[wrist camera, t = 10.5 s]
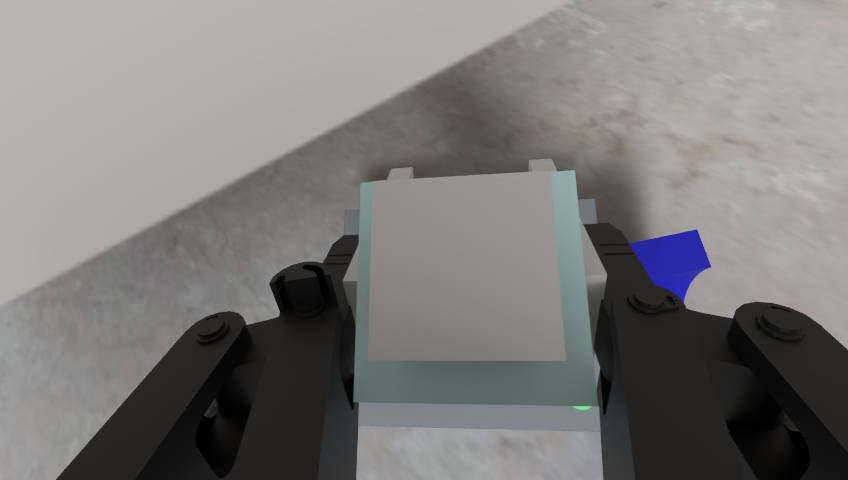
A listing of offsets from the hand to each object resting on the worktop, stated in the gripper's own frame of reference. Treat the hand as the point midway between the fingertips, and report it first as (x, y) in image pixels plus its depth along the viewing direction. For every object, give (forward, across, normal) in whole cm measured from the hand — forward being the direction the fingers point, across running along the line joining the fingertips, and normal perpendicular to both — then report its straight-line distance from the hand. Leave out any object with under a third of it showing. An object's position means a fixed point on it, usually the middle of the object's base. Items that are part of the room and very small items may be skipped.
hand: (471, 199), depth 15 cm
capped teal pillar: (0, 0, -6) cm, 6 cm away
